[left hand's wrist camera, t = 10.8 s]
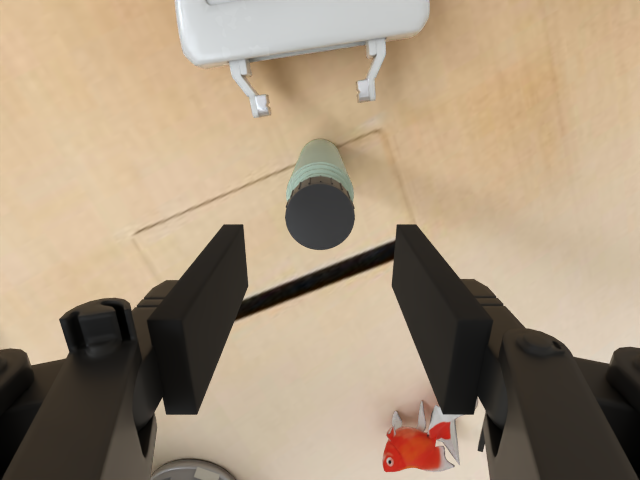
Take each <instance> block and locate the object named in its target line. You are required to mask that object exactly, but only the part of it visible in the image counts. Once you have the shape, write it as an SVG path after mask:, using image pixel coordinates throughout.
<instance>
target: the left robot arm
mask: <svg viewBox="0 0 640 480" xmlns="http://www.w3.org/2000/svg"><path fill="white" fill-rule="evenodd" d="M247 288H248V277H247V265H246V253H245V241H244V229H243V225H223V226H222V227H221V229H220V230H219V231H218V232H217V234H216V235H215V236H214V237H213V239H212V240H211V241H210V242H209V244H208V245H207V246H206V247H205V249H204V250H203V251H202V252H201V253H200V255H199V256H198V257H197V258H196V260H195V261H194V262H193V263H192V265H191V266H190V267H189V268H188V270H187V271H186V272H185V273H184V274H183V276H182V277H181V278H180V279H179V280H166V281H164V282H163V283H161V284H159V285H157V286H156V287H154V288H152V290H151V291H150V292H149V293H148V294H147V295H146V296H145V297H144V299H142V300H141V302H140V303H139V304H138V305H137V307H135V308H134V309H133V310H132V311H131V306H130V303H129V302H127V301H126V300H124V299H119V298H104V299H99V300H94V301H90V302H87V303H85V304H82V305H79V306H77V307H75V308H73V309H71V310H70V311H68V312H66V313H65V314H64V315H63V316H62V317H61V318H60V319H59V320H60V323H61V327H62V330H63V333H64V336H65V339H66V343H67V346H68V349H69V354H68V356H67V358H66V359H62V360H57V361H52V362H47V363H42V364H36V365H31V364H30V361H29V358H28V356H27V353H25V352H24V351H22V350H21V349H4V350H0V480H235V478H234V477H233V476H232V475H231V474H230V473H229V472H227V471H226V470H224V469H223V468H221V467H219V466H217V465H215V464H212V463H209V462H205V461H201V460H191V459H188V460H177V461H173V462H170V463H167V464H165V465H163V466H161V467H160V468H158V469H157V470H156V471H155V472H154V473H153V474H152V476H151V469H152V461H153V454H154V447H155V439H156V432H157V423H156V417H155V413H154V412H155V410H156V408H157V406H158V405H159V403H160V401H161V399H162V397H163V401H164V406H165V411H166V415H197V414H198V411H199V408H200V406H201V403H202V401H203V398H204V396H205V393H206V391H207V388H208V386H209V383H210V381H211V378H212V376H213V373H214V371H215V368H216V366H217V363H218V361H219V358H220V356H221V353H222V351H223V348H224V346H225V343H226V341H227V338H228V336H229V333H230V331H231V328H232V326H233V323H234V321H235V318H236V316H237V313H238V310H239V308H240V305H241V303H242V300H243V298H244V295H245V293H246V290H247ZM392 288H393V290H394V293H395V295H396V298H397V300H398V303H399V305H400V308H401V310H402V313H403V316H404V318H405V321H406V323H407V326H408V328H409V331H410V333H411V336H412V338H413V341H414V343H415V346H416V348H417V351H418V353H419V356H420V358H421V361H422V363H423V366H424V368H425V371H426V373H427V376H428V378H429V381H430V383H431V386H432V388H433V391H434V393H435V396H436V398H437V401H438V403H439V406H440V408H441V411H442V414H443V415H474V411H475V406H476V401H477V396H478V397H479V399H480V401H481V403H482V404H483V406H484V408H485V410H486V413H485V417H484V422H483V426H482V431H481V435H480V440H479V445H478V451H481V452H483V449H484V444H485V446H486V453H487V460H488V468H489V475H490V480H640V348H635V347H623V348H619V349H617V350H616V351H614V353H613V356H612V358H611V361H610V364H607V363H602V362H597V361H592V360H587V359H581V358H577V357H573V355H572V353H571V352H570V350H569V349H568V348H567V347H566V346H565V345H564V344H563V343H562V342H560V341H559V340H557V339H556V338H554V337H552V336H550V335H548V334H545V333H543V332H540V331H536V330H532V329H526V328H525V327H524V326H523V325H522V324H521V323H520V322H519V321H518V319H517V318H516V317H515V316H514V315H513V314H512V313H511V312H510V311H509V310H508V309H507V308H506V306H503V303H502V302H501V301H500V300H499V299H498V298H496V296H495V295H494V293H493V292H492V291H491V290H490V289H489V288H488V287H487V286H485V285H483V284H481V283H480V282H478V281H476V280H474V279H460V278H459V277H458V276H457V274H456V273H455V272H454V271H453V270H452V268H451V267H450V266H449V265H448V263H447V262H446V261H445V260H444V258H443V257H442V256H441V255H440V253H439V252H438V251H437V250H436V249H435V247H434V246H433V245H432V244H431V242H430V241H429V240H428V239H427V237H426V236H425V235H424V234H423V232H422V231H421V230H420V229H419V227H418V226H417V225H397V229H396V241H395V253H394V265H393V277H392ZM150 476H151V478H150Z"/></svg>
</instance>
